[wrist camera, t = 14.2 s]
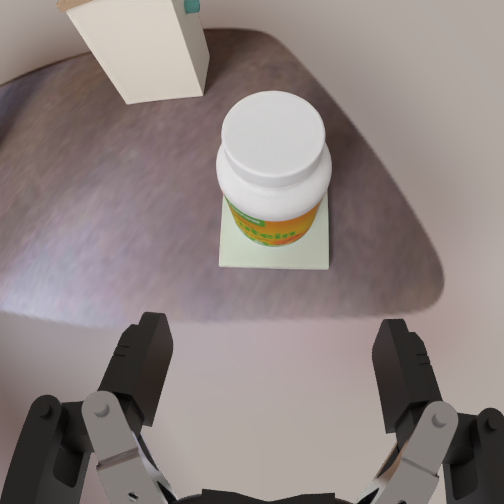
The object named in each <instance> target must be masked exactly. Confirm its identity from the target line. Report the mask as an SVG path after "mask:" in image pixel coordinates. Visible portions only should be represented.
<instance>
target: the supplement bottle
mask: <svg viewBox="0 0 504 504" xmlns="http://www.w3.org/2000/svg"><path fill="white" fill-rule="evenodd" d="M221 136H222V144H221V146H220V148H219V151H218V154H217V161H216V171H217V177H218V181H219V185H220V187H221V190H222V192H223V194H224V197H225V199H226V201H227V203H228V206H229V208H230V211H231V213H232V216H233V218H234V220H235V223H236V224H237V226H238V228H239V230H240V231H241V232H242V233H243V234H244V236H246V237H247V238H248V239H249V240H251V241H252V242H254V243H256V244H258V245H261V246H265V247H270V248H278V247H284V246H288V245H290V244H293V243H295V242H297V241H298V240H299V239H301V238H302V237H303V236H304V235H305V234H306V233H307V231H308V230H309V229H310V227H311V225H312V223H313V221H314V219H315V216H316V214H317V211H318V209H319V207H320V204H321V202H322V200H323V197H324V195H325V193H326V191H327V188H328V186H329V183H330V178H331V173H332V162H331V156H330V153H329V149H328V147H327V145H326V143H325V128H324V124H323V121H322V119H321V117H320V115H319V113H318V112H317V111H316V109H315V108H314V107H313V106H312V105H311V104H310V103H308V102H307V101H305V100H304V99H302V98H300V97H298V96H296V95H294V94H291V93H287V92H281V91H264V92H259V93H255V94H252V95H250V96H247V97H246V98H244V99H242V100H241V101H239V102H238V103H237V104H235V105H234V106H233V107H232V108H231V110H230V111H229V112H228V114H227V116H226V117H225V120H224V122H223V126H222V133H221Z"/></svg>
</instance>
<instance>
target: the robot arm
mask: <svg viewBox="0 0 504 504" xmlns="http://www.w3.org/2000/svg"><path fill="white" fill-rule="evenodd" d="M117 345H118V346H117V347H116V349H115V351H114V353H113V354H114V355H113V356H112V358H111V360H110V363H109V365H108V368H107V370H106V372H105V374H104V377H103V379H102V382H101V384H100V387H99V389H98V390H97V392H94V393H92V394H90V395H89V396H88V397H87V398H86V399H85V400H84V401H80V402H66V403H60V401H59V400H58V399H57V398H56V397H54V396H51V395H43V396H40V397H38V398H37V399H36V400H35V401H34V402H33V403H32V405H31V407H30V410H29V412H28V415H27V418H26V420H25V423H24V425H23V428H22V431H21V434H20V436H19V439H18V442H17V445H16V448H15V451H14V454H13V457H12V461H11V463H10V467H9V470H8V474H7V477H6V480H5V484H4V487H3V491H2V495H1V499H0V504H79V502H80V497H81V493H82V488H83V484H84V479H85V475H86V471H87V467H88V463H89V459H90V455H91V452H95V454H96V456H97V459H98V465H97V467H96V469H97V473H98V476H99V479H100V481H101V483H102V486H103V488H104V491H105V493H106V495H107V498H108V499H109V502H110V504H353V503H350V502H348V501H345V500H341V499H337V498H335V493H324V494H304V495H303V494H302V495H298V496H294V497H290V498H286V499H281V500H276V501H270V502H267V501H263V500H259V499H255V498H252V497H248V496H245V495H242V494H238V493H235V492H226V491H217V490H207V489H202V494H196V495H191V496H187V497H184V498H181V499H178V497H177V495H176V494H175V492H174V490H173V489H172V487H171V486H170V484H169V483H168V481H167V480H166V479H165V477H164V475H163V474H162V472H161V470H160V469H159V467H158V465H157V463H156V461H155V459H154V457H153V455H152V453H151V451H150V449H149V447H148V446H147V443H146V442H145V439H144V437H143V435H142V434H141V429H142V425H146V426H150V427H152V424H153V421H154V417H155V413H156V410H157V406H158V402H159V399H160V395H161V391H162V388H163V385H164V381H165V378H166V374H167V370H168V367H169V364H170V360H171V357H172V353H173V339H172V336H171V332H170V329H169V325H168V321H167V318H166V315H165V314H164V313H154V312H144V313H143V315H142V317H141V320H140V322H139V324H138V325H135V324H131V325H130V326H129V327H128V328H127V329H126V330H125V331H124V332H123V333H122V336H121V338H120V340H119V342H118V344H117ZM372 360H373V366H374V370H375V375H376V380H377V385H378V390H379V395H380V401H381V406H382V412H383V418H384V424H385V430H386V434H387V433H394V432H396V438H397V442H396V443H395V445H394V447H393V449H392V450H391V452H390V454H389V455H388V457H387V459H386V460H385V462H384V463H383V465H382V467H381V468H380V470H379V471H378V473H377V474H376V476H375V477H374V479H373V480H372V482H371V483H370V484H369V485H368V486H367V487H366V488H365V490H364V491H363V492H362V494H361V495H360V496H359V497H358V499H357V500H356V501H355V503H354V504H428V502H429V500H430V498H431V496H432V494H433V492H434V490H435V488H436V486H437V484H438V481H439V476H437V472H438V470H439V467H440V466H441V464H443V471H444V479H445V489H446V501H447V504H504V416H503V414H502V413H501V412H500V411H498V410H497V409H494V408H486V409H484V410H483V411H482V412H481V413H480V414H479V415H478V416H477V415H470V414H463V413H457V412H456V410H455V409H454V408H453V407H452V406H451V405H450V404H448V403H446V402H444V401H443V400H442V397H441V394H440V391H439V387H438V384H437V381H436V378H435V375H434V372H433V369H432V366H431V365H430V360H429V357H428V356H427V351H426V348H425V345H424V343H423V341H422V340H421V339H420V337H419V336H418V335H417V334H416V333H415V332H409V331H408V329H407V326H406V323H405V321H404V320H403V319H384V320H383V321H382V323H381V326H380V329H379V332H378V334H377V337H376V339H375V343H374V345H373V349H372Z"/></svg>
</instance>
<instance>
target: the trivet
mask: <svg viewBox="0 0 504 504" xmlns="http://www.w3.org/2000/svg"><path fill="white" fill-rule="evenodd" d="M219 266H220V267H234V268H268V269H308V270H328V269H329V232H328V195H327V191H326V193H325V195H324V197H323V200H322V202H321V204H320V207H319V209H318V211H317V214H316V216H315V219H314V221H313V223H312V225H311V227H310V229H309V230H308V231H307V233H306V234H305V235H304V236H303V237H302V238H301V239H299V240H298V241H297V242H295V243H293V244H290V245H288V246H284V247H278V248H270V247H265V246H261V245H258V244H256V243H254V242H252V241H251V240H249V239H248V238H247V237H246V236H244V234H243V233H242V232H241V231H240V230H239V228H238V226H237V224H236V223H235V220H234V218H233V216H232V213H231V211H230V208H229V206H228V203H227V201H226V199H225V197H224V194H223V206H222V221H221V236H220V252H219Z"/></svg>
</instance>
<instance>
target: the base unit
mask: <svg viewBox="0 0 504 504" xmlns="http://www.w3.org/2000/svg"><path fill="white" fill-rule="evenodd" d="M56 6H57V8H58V9H59V11H60V12H63V11H65V12H66V13H67V15H68V16H69V18H70V19H71V21H72V23H73V24H74V26H75V27H76V29H77V30H78V32H79V33H80V35H81V36H82V38H83V39H84V41H85V42H86V44H87V45H88V47H89V48H90V50H91V51H92V53H93V54H94V56H95V57H96V59H97V60H98V62H99V63H100V65H101V66H102V68H103V69H104V71H105V72H106V74H107V75H108V77H109V78H110V80H111V81H112V83H113V84H114V86H115V87H116V89H117V90H118V92H119V93H120V95H121V96H122V98H123V99H124V101H125V102H126V103H127V104H134V103H141V102H149V101H157V100H165V99H175V98H186V97H198V96H203V94H204V88H205V81H206V76H207V70H208V64H209V58H210V55H209V51H208V48H207V44H206V40H205V36H204V32H203V29H202V25H201V21H200V17H199V13H198V12H199V10H200V4H199V0H59V1H58V3H57V4H56Z"/></svg>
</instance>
